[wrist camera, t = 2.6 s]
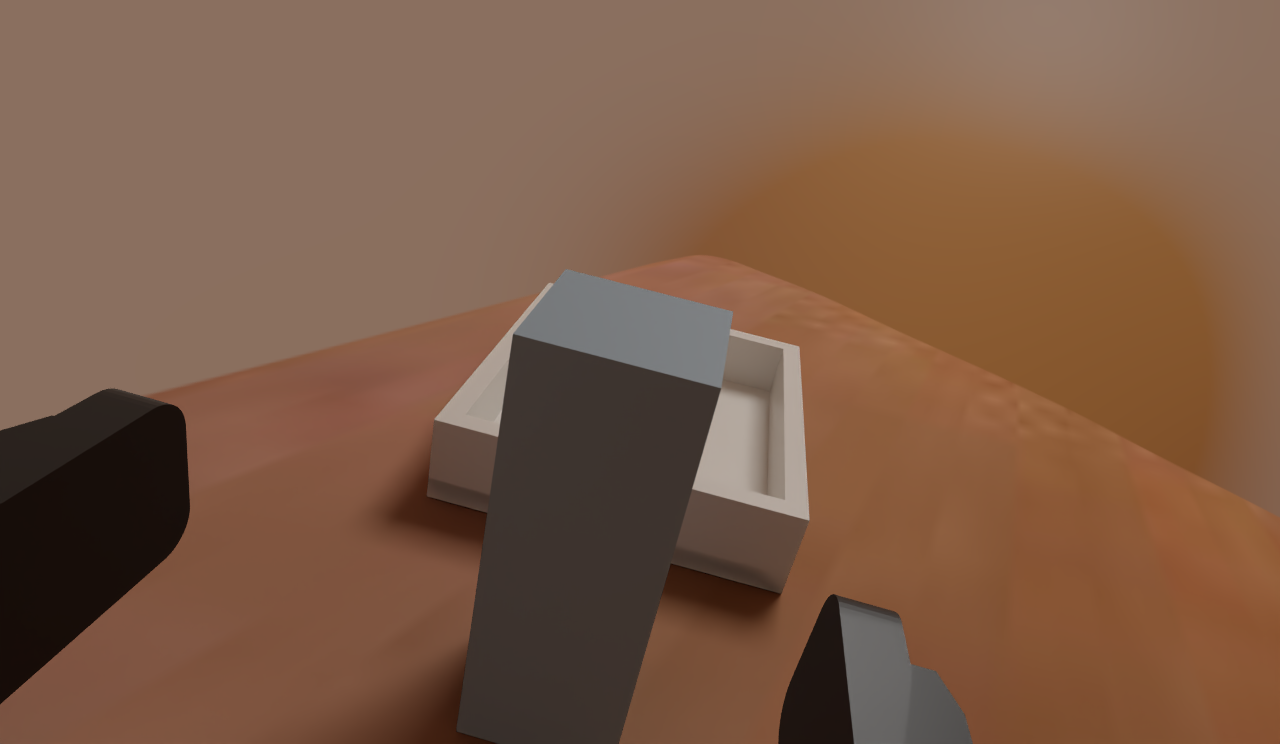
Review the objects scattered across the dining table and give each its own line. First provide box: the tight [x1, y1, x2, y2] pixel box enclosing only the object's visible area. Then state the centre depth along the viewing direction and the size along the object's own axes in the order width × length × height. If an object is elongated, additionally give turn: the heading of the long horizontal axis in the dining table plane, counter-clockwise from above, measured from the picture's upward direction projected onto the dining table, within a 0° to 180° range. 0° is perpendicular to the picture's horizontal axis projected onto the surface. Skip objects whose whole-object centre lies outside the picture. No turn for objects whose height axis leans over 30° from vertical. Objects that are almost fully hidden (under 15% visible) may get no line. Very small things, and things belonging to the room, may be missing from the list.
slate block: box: [456, 269, 733, 744], centre depth 23 cm, size 5×5×14 cm
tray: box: [427, 283, 809, 594], centre depth 41 cm, size 16×18×4 cm
